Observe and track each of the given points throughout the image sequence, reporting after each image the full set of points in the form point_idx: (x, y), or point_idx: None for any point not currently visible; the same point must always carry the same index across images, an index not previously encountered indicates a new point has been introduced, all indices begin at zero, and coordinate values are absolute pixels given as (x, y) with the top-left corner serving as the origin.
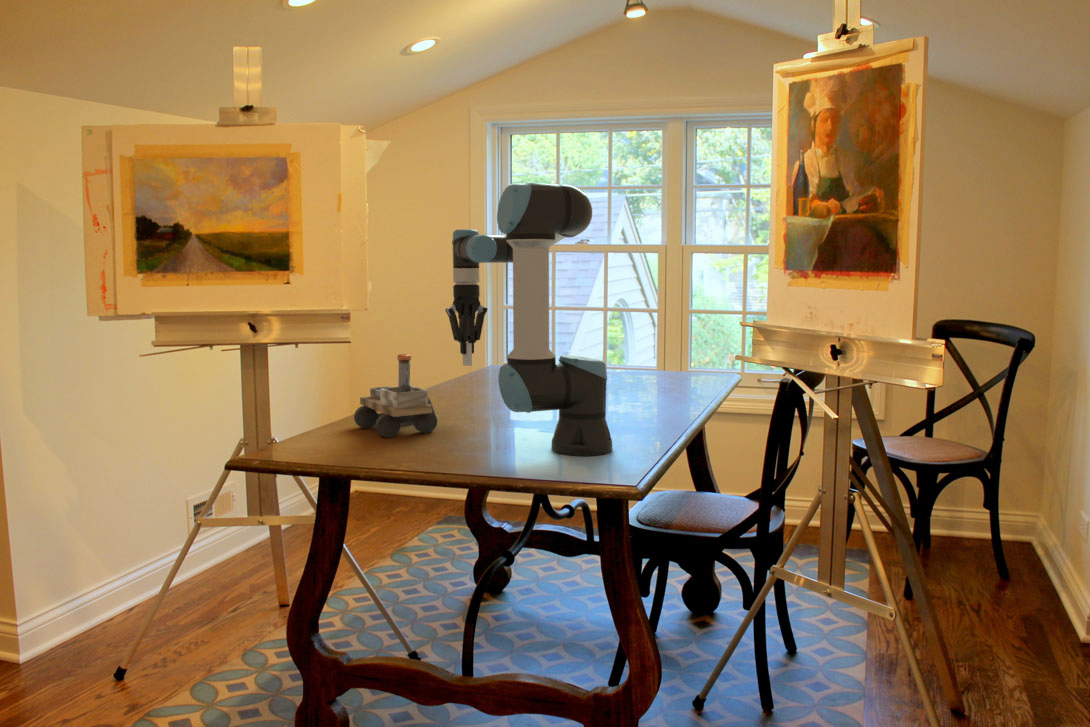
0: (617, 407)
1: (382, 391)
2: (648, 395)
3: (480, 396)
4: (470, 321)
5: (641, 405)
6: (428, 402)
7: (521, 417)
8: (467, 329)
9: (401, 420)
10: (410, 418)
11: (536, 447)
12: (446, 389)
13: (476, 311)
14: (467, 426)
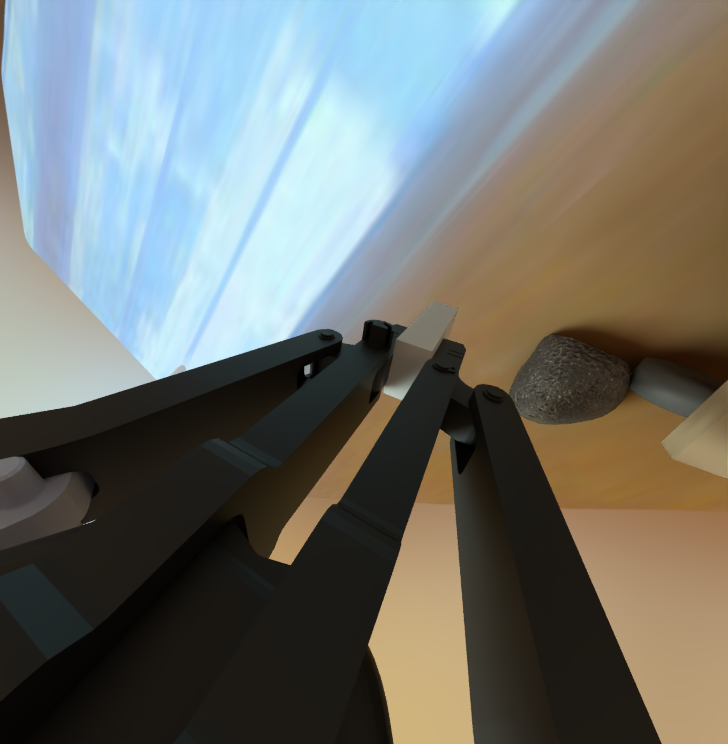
0: (150, 135)
1: None
2: (87, 206)
3: None
4: (296, 457)
5: (110, 119)
6: (566, 369)
7: (360, 190)
8: (342, 442)
9: (690, 370)
10: (652, 360)
11: None
12: None
13: (72, 528)
14: (579, 183)
